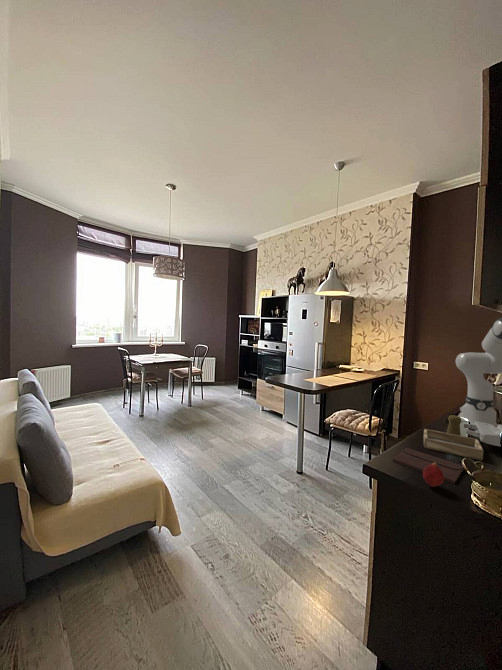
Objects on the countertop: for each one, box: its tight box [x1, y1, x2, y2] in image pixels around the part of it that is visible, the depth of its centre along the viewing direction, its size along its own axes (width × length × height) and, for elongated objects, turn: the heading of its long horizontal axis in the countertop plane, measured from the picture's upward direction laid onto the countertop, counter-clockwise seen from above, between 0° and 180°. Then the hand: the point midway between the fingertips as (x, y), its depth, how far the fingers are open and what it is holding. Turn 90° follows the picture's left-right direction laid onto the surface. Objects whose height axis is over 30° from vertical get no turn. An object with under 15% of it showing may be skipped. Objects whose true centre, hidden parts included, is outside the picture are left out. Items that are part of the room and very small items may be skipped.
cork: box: [446, 414, 463, 436], centre depth 137 cm, size 6×6×11 cm
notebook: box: [392, 447, 465, 485], centre depth 110 cm, size 15×20×2 cm
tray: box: [423, 428, 484, 461], centre depth 127 cm, size 14×20×4 cm
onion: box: [422, 463, 445, 488], centre depth 95 cm, size 6×6×8 cm
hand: (464, 428), depth 135 cm, fingers open, 8 cm apart
